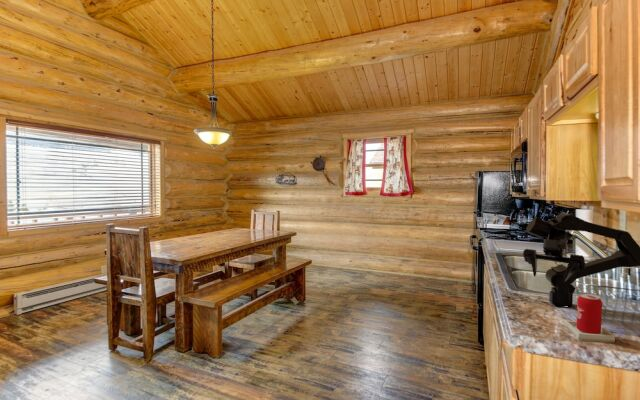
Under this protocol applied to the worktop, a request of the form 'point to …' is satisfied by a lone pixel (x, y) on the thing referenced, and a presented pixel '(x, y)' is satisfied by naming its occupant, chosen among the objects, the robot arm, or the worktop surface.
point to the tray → (602, 337)
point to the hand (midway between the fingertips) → (549, 278)
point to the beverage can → (589, 313)
